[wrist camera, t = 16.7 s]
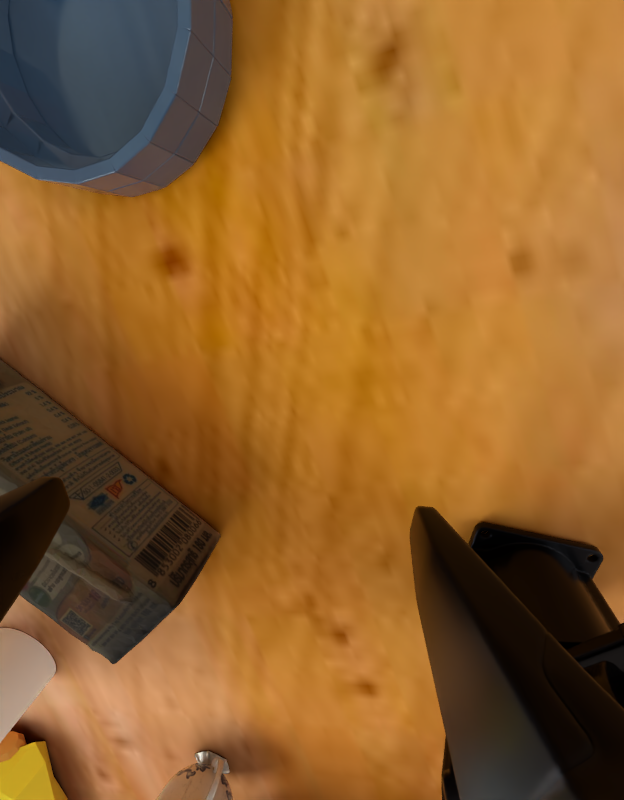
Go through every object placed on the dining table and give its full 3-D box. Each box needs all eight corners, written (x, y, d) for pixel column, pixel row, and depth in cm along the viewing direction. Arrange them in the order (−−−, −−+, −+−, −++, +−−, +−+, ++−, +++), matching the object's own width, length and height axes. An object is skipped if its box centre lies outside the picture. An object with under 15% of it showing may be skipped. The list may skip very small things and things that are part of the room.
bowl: (245, -149, 13) (189, -309, 9) (233, 210, 17) (191, 197, 14) (-30, -145, 14) (-171, -281, 11) (22, 185, 19) (-66, 167, 15)
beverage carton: (-11, 339, 23) (-155, 368, 17) (231, 530, 25) (181, 619, 18) (-43, 422, 26) (-175, 473, 20) (173, 586, 28) (114, 679, 22)
